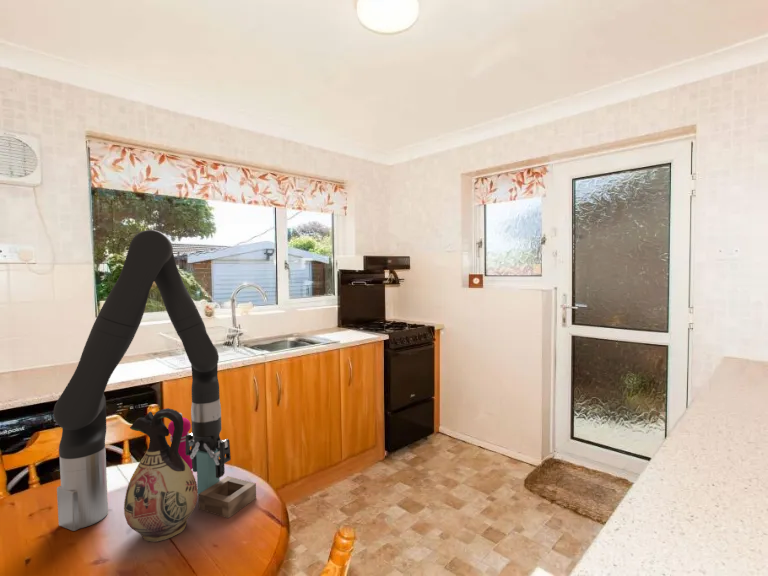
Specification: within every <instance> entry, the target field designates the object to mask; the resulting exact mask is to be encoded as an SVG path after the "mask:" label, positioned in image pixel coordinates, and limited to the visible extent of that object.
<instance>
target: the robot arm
mask: <svg viewBox="0 0 768 576" xmlns="http://www.w3.org/2000/svg"><path fill="white" fill-rule="evenodd" d="M173 248H174V247H173V245H172V241H171V240H170V239H169V238H168V237H167V236H166V234H164V233H163V232H161V231H158V230H155V229H146V230H142V231H140V232H138V233H137V234H136V235H134V236H133V238H132V239H131V241H130V244H129V247H128V249H127V250H128V251H127V254H126V258H125V260H124V262H123V266H122V269H121V272H120V273H119V277H118V278H117V280H116V282H115V284H114V285H113V287H112V289H111V290H110V292H109V293H108V295H107V297H106V299H105V301H104V303H103V304H102V307H101V308H100V310H99V312H98V314H97V317H96V318H95V320H94V322H93V325H92V328H91V330H90V332H89V335H88V337H87V339H86V341H85V344H84V347H83V350H82V352H81V356H80V359H79V360H78V364H77V366H76V368H75V370H74V372H73V374H72V376H71V378H70V379H69V381H68V383H67V384H66V387H65V388H64V390H63V392H62V393H61V394H60V396H59V397H58V399H57V401H56V403H55V404H54V406H53V419H54V421H55V423H56V424H57V425H58V426H59V427H60V428H61V429H62V430H61V431H62V432H61V437H60V442H59V445H58V452H59V453H58V454H59V472H60V473H59V474H60V485H59V486H56V487H57V488H56V497H57V498H56V499H57V517H58V519H57V520H58V526H59V527H62V528H65V529H66V530H67V529H68V530H70V531H71V532H72V531H73V532H74V531H77V530H80V529H83V528H86V527H89V526H92V525H94V524H97V523H98V522H101V521H102V520H103V519H104V518H106V517H107V515H108V513H109V499H108V498H109V497H108V480H107V475H108V474H107V459H106V458H107V453H106V436H107V435H106V434H107V402H106V400H107V399H106V396H105V391H106V388H107V385H108V383H109V381H110V378H111V376H112V374H113V373H114V371H115V369H116V368H117V367H118V366H119V364H120V362H121V361H122V359H123V357H124V356H125V355H126V354H127V353H126V352H127V351H128V349H129V348H130V346H131V344H132V342H133V340H134V338H135V335H136V334H137V331H138V329H139V327H140V325H141V323H142V320H143V316H144V314H145V310H146V306H147V302H148V298H149V294H150V290H151V288H152V286H153V285H154V283H155V285H156V287H157V289H158V292H159V293H160V296H161V299H162V301H163V305H164V308H165V311H166V312H167V315H168V317H169V319H170V322H171V323H172V326H173V328H174V331H175V332H176V334H177V336H178V337H179V339H180V341H181V343H182V345H183V348H184V351H185V353H186V356H187V359H188V361H189V363H190V366H191V377H192V382H191V409H190V418H191V433H189V434H188V435H186V455H187V456H188V455H189V456H190V458H191V459H192V471H193V473H197V456H196V452H197V451H203V452H208V453H209V455H210V457H211V458H212V459H214V461H215V463H216V465H215V467H216V478H221V477H223V476H224V474H225V471H226V470H225V464H226V463H228V462H229V461H231V460H232V459H231V457H232V456H231V445H230V439H229V438H226V439H221V437H220V436H221V435H220V433H222V430H223V429H222V428H223V427H222V407H221V406H222V405H221V401H220V400H221V399H220V383H219V378H218V377H219V376H218V370H219V369H218V364H219V357H220V356H219V352H218V350H217V348H216V346H215V345H214V344H213V342H212V340H211V338H210V336H209V334H208V333H207V329H206V326H205V322H204V320H203V318H202V316H201V314H200V311H199V310H198V308H197V306H196V303H195V302H194V300H193V298H192V296H191V295H190V293H189V291H188V289H187V287H186V285H185V283H184V281H183V279H182V277H181V274H180V272H179V269H178V266H177V262H176V259H175V255H174V249H173ZM216 450H218V452H217V453H214V452H215V451H216ZM217 456H219V459H218V457H217Z"/></svg>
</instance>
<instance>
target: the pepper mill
mask: <svg viewBox="0 0 768 576" xmlns="http://www.w3.org/2000/svg"><path fill="white" fill-rule="evenodd" d="M179 413H180V414H181V416H182V418H183V433H182V437H181V441H180V445H179V449H178V453H179V455H180V456H181V457H182V459H183V460H184V461H185V462H186V463H187V464H188V466H189V467H190V469H191V471H192V473H193V474H194V472H193V469H192V459H191V458H190V456H189V455H188V456H187V455H186V435H188V434H190V433H189V431H190V430H191V429H192V423H191V421H190V420H189V419H188V418H187V417H183V413H182V412H179ZM167 429H168V430H169V436H170V437H169V438H170V439H169V441H170V442H171V443H172V437H173V433H174V424H173V421H171V420H170V422H169V423H168V426H167Z"/></svg>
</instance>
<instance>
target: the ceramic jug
mask: <svg viewBox="0 0 768 576" xmlns="http://www.w3.org/2000/svg"><path fill="white" fill-rule="evenodd" d="M180 413H181V412H179V411H177V410H175V409H172V408H163V409H160V410H158V411H156V412H155V414H153V412H152V411H149V412H148V413H147V414H146V415H144V417H142V416H141V417H138V418H136V420H134V422H133V423H132V424H131V426H130V427H129V429H130V430H133V431H135V432H141V433H142V434H144V435H146V436H147V437H148V438H149V442H148V448H147V449H146V452H145V453H144V455H143V457H142V458H141V460H139V462H138V464H137V467H136V468H135V470H134V472H133V473H132V475H131V477H130V480H129V483H128V485H127V488H126V492H125V496H124V504H123V512H124V513H123V514H124V518H125V521H126V523H127V525H128V526H129V528H131V530H133V531H135V532H136V533H138V534H139V535H141V536H142V538H143V540H144V541H148V542H151V543H153V542H155V543H156V542H157V543H158V542H161V541H164V540H168V539H171V538H172V537H175V536H176V535H179V534H181V533H182V532H183V531H184V530H185V529H186V527H187V523H188V519H189V518H190V517H191V516H192V514H193V512H194V511H195V508H196V505H197V503H198V497H199V495H198V486H197V481H196V480H197V479H196V477H195V475H194V472H193V473H192V471H193V470H192V471H191V469H190V467H189V466H188V464H187V463H186V462H185V461H184V460H183V459H182V457H181V456H180V455H179V453H178V449H179V445H180V441H181V437H182V433H183V418H184V417H183V415H182V416H181V414H182V413H181V414H180ZM182 417H183V418H182ZM164 418H165V419H169V420H170V422H171V421H173V424H174V433H173V437H172V442H171V444H170V445H169V444H168V441H167V438H166V437H168V436H170V433H169V430H168V426H166V424H165V423H164V422H163V419H164Z"/></svg>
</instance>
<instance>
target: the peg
mask: <svg viewBox="0 0 768 576" xmlns="http://www.w3.org/2000/svg"><path fill="white" fill-rule="evenodd" d="M217 452H218V450H216V451H215V452H214V453H217ZM196 456H197V472H196V478H197V479H196V480H197V481H196V484H197V489H198V496H199V494H200V493H201V492H203V491H204V490H206V489H208V488H209V487H211V486H212V485H214V484H216V483H217V482H219V481H221V480H220V478H221V477H220V478H216V467H215V465H216V463H215V461H214V459H212V458H211V457H210V455H209V453H208V452H203V451H197V452H196ZM217 457H218V459H220V457H219V456H217Z"/></svg>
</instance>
